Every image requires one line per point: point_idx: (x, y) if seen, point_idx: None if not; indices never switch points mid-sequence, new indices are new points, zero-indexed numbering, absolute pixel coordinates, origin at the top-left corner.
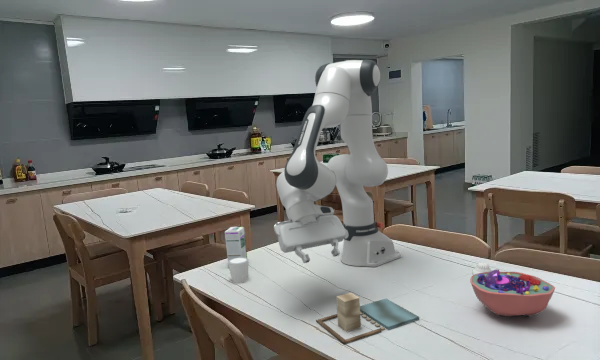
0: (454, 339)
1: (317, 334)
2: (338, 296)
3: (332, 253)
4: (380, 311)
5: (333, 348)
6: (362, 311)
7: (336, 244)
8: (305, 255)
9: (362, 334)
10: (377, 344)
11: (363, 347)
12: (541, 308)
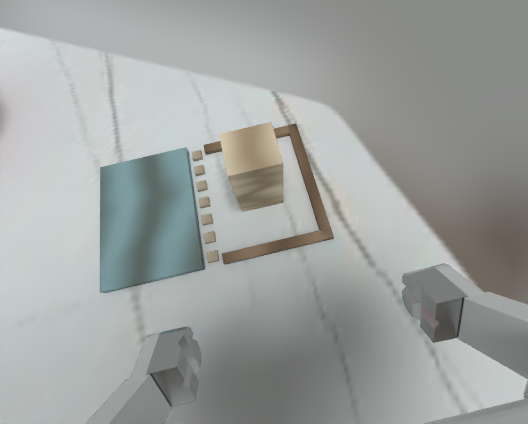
0: (104, 92)
1: (341, 178)
2: (276, 161)
3: (194, 374)
4: (160, 219)
5: (320, 120)
6: (199, 242)
7: (108, 418)
8: (459, 289)
9: None
10: (234, 111)
11: (263, 109)
12: None
